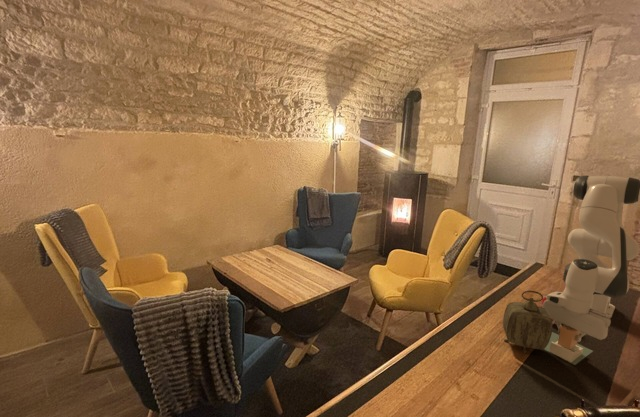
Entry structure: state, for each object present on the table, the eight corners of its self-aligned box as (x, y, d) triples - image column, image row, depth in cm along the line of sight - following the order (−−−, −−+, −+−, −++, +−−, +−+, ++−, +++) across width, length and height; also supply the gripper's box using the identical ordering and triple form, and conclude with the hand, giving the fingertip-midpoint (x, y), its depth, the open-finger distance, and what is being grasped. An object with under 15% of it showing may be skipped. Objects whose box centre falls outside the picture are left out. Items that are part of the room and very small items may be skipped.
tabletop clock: (540, 348, 129) (552, 289, 124) (547, 362, 121) (560, 300, 116) (499, 339, 134) (509, 283, 128) (503, 353, 126) (514, 293, 120)
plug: (564, 338, 128) (568, 321, 126) (576, 344, 124) (581, 326, 123) (557, 343, 125) (561, 325, 123) (569, 349, 121) (573, 331, 120)
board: (537, 327, 144) (537, 325, 143) (592, 353, 127) (593, 350, 127) (517, 338, 135) (518, 336, 135) (574, 367, 119) (574, 365, 119)
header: (560, 343, 131) (562, 335, 130) (581, 354, 125) (584, 344, 124) (549, 351, 126) (551, 342, 125) (570, 362, 120) (573, 352, 119)
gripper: (615, 314, 114) (606, 349, 117) (550, 290, 131) (544, 321, 134) (608, 319, 111) (599, 355, 114) (542, 293, 127) (536, 325, 130)
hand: (568, 336), depth 124 cm, fingers closed on plug, 4 cm apart
